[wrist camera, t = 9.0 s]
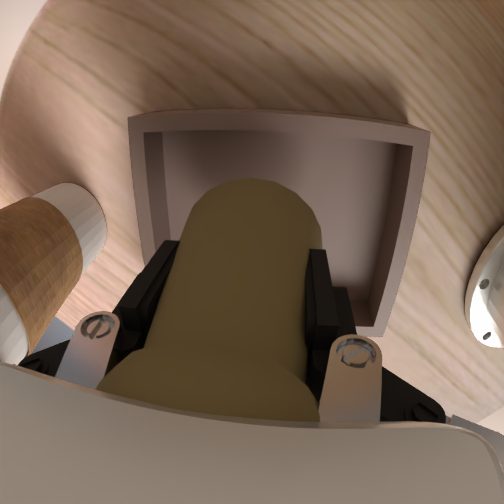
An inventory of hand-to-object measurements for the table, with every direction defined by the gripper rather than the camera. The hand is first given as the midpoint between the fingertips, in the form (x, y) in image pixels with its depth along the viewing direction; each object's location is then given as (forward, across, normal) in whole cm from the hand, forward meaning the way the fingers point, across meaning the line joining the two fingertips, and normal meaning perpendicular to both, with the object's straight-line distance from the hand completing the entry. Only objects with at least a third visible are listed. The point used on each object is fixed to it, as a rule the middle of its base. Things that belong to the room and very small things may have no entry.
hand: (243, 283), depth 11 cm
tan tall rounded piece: (+3, 0, 0) cm, 3 cm away
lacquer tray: (+8, -1, +1) cm, 8 cm away
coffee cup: (+8, +13, +2) cm, 15 cm away
